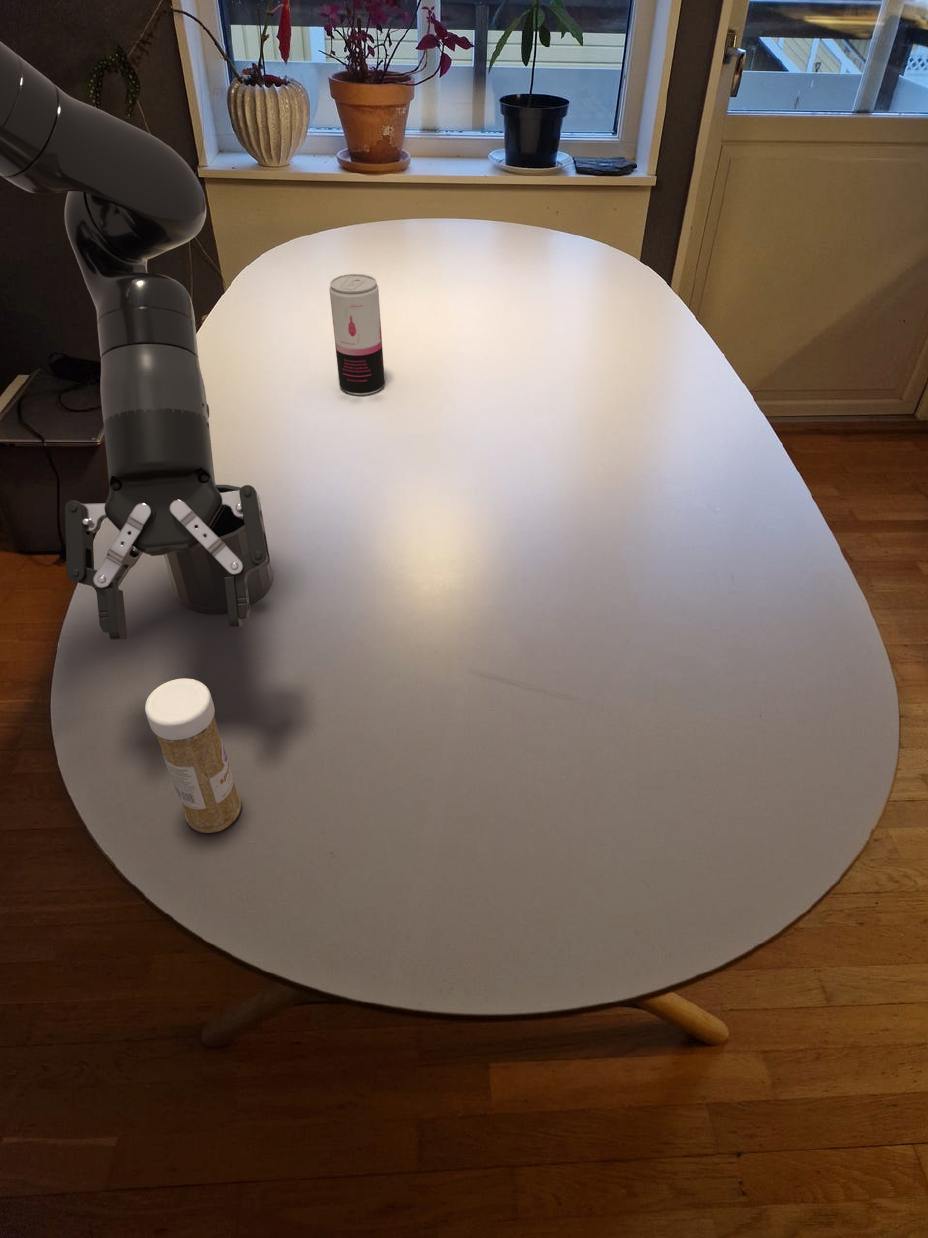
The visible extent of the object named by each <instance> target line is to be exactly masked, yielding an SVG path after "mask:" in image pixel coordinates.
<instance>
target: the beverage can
mask: <svg viewBox="0 0 928 1238" xmlns="http://www.w3.org/2000/svg"><path fill="white" fill-rule="evenodd" d="M329 298H330V299H329V300H330V308H331V318H332V328H333V337H334V338H333V339H334V346H335V357H336V366H337V373H338V374H337V375H338V384H339V387H340V389H342V390H343V391H344V392H346V393H347V394H350V395H354V396H367V395H372V394H375V393H377V392H378V391H380V390H381V389H382V388H383V387H384V385H385V382H386V381H385V366H384V365H385V364H384V350H383V349H384V348H383V336H382V324H381V323H382V322H381V308H380V292H379V285H378V283H377V279H376V278H375V277H373V276H371V275H368V274H363V273H347V274H342V275H339V276H336V277H334V278H332V279H331V280H330V282H329Z"/></svg>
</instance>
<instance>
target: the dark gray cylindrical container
mask: <svg viewBox="0 0 928 1238" xmlns="http://www.w3.org/2000/svg"><path fill="white" fill-rule="evenodd" d="M216 487H217V489H218V491H219V492H220V493H223V492H229V491H236V490H240V489H241V488H242V486H236V485H232V484H216ZM212 531H213V532H214V533H215V534H216V535H217V536H218V537H219V538H220V539H221V540H222V541H223V542H224V543H225V544H226V545H227V546H228V547H229V549H230V550H231V551H232V552H233V553H234V554H235V555H236V556H237V557H239V556H242V555H244V554H246V553H248V552H249V548H248V542H247V536H246V530H245V524H244V519H239V518H237V517H236V516H235V515H234V513H233V511H232V509H231V508H229V507H224V509H223V511H222V513H221V515H220V516H219V518H218V520H217V521H216V523H215V525H214V526H213V528H212ZM163 557H164V561H165V564H166V567H167V568H166V569H167V571H168V575H169V578H170V581H171V585H172V589H173V591H174V593H175V597H176V598H177V600H178V601H179V602H180V603H181V604H182V606H184V607H186V608H187V609H189V610H192V611H194V612H198V613H203V614H209V615H211V614H212V615H213V614H225V613H226V614H228V608H227V598H226V589H225V579H224V577H228V576H227V570H226V569H225V568H224V567H223V566H222V565H221V563H220V562H219V561H218V560H217V559H216V558H215V557H214V556H213V555H212V554H211V553H210V552H209V551H208V550H207V549H206V548H205V547H204V546H203V545H201V546H200V547H199V548H197V549H196V550H194V552H189V553H181V552H174V551H172V552H169V553H167V554H164V555H163ZM273 578H274V576H273V568H272V563H271V561H270V562H269V564H268V565H267V566H266V567H261V568H259V569H256V570H254V571H252V572H251V573H250V574H249V575H248V577H247V587H248V597H249V606H251V605H253V604H254V603H256V602H258V601H259V600H260V599H261V598H263V597H264V596H265V595H266V593H267V592H268V591H269V590H270V588H271V586H272V583H273Z"/></svg>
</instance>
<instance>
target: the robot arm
mask: <svg viewBox="0 0 928 1238" xmlns="http://www.w3.org/2000/svg"><path fill="white" fill-rule="evenodd" d="M0 176H1V177H2V178H3V179H5V180H7V181H8V182H10V183H11V184H13V185H14V186H16V187H17V188H20V189H22V190H23V191H26V192H28V193H31V194H34V195H41V196H43V195H44V196H45V195H55V194H60V193H67V195H66V198H65V204H64V205H65V206H64V225H65V230H66V234H67V237H68V240H69V241H70V242H69V243H70V246H71V248H72V250H73V253H74V255H75V258H76V261H77V264H78V266H79V268H80V271H81V274H82V278H83V279H84V283H85V285H86V288H87V290H88V292H89V294H90V297H91V299H92V302H93V305H94V307H95V311H96V324H97V325H96V326H97V333H98V334H97V335H98V346H99V355H100V384H99V385H100V386H99V387H100V388H99V389H100V390H99V391H100V402H101V403H100V404H101V413H102V422H103V432H104V433H103V434H104V445H105V454H106V465H107V474H108V484H109V492H108V496H107V499H106V501H105V502H101V503H100V502H99V503H94V502H93V503H82V502H80V501H78V500H76V499H70V500H68V501H67V502H66V503H65V505H64V528H65V529H64V530H65V531H64V532H65V533H64V534H65V560H66V562H65V564H66V576H67V579H69V580H70V581H71V582H75V583H78V584H81V585H85V586H89V587H92V588H93V589H94V591H95V593H96V601H97V611H98V623H99V627H100V629H101V631H102V633H105V634H109V638H110V640H111V641H123V640H127V638H128V632H127V631H128V630H127V622H126V621H127V620H126V619H127V618H126V610H125V602H124V601H125V600H124V591H123V590H122V589H120V588H119V587H120V585H121V584H122V583H123V581H124V579H125V578H126V576H127V574H128V573H129V571H130V570H131V569H132V568H133V567H135V565H136V564H137V562H138V561H139V559H140V558H141V556H142V555H143V553H144V555H145V554H146V555H149V556H151V557H156V556H164V554H167V553H169V552H172V551H174V552H181V553H189V552H194V550H196V549H197V548H199V547H200V546H201V545H203V546H204V547H205V548H206V549H207V550H208V551H209V552H210V553H211V554H212V555H213V556H214V557H215V558H216V559H217V560H218V561H219V562H220V563H221V565H222V566H223V567H224V568H225V569H226V570H227V576H228V577H224V579H225V589H226V598H227V608H228V612H227V616H228V617H227V618H228V624H229V627H230V628H231V629H236V628H237V629H238V628H243V625H244V624H243V620H249V617H250V614H251V608H250V607H251V605H249V597H248V587H247V577H248V575H249V574H250V573H251V572H252V571H254V570H256V569H259V568H261V567H266V566H267V565H268V564H269V562H271V557H270V552H269V546H268V545H269V544H268V540H267V533H266V527H265V523H264V517H263V510H262V504H261V498H260V496H259V494H258V492H257V490H256V489H255V487H254V486H252V485H250V484H245V485H243V486H241V489H240V490H236V491H229V492H223V493H220V492H219V491H218V489H217V487H216V485H217V484H216V479H215V478H216V477H215V469H214V459H213V449H212V448H213V447H212V441H211V431H210V429H211V428H210V420H209V419H210V407H209V404H208V401H207V391H206V387H205V386H206V385H205V382H204V378H203V374H202V370H201V363H200V360H199V359H200V358H199V347H198V338H197V329H196V319H195V312H194V306H193V303H192V298H191V296H190V293H189V291H188V290H187V288H186V287H185V286H184V285H183V284H182V283H180V282H179V281H178V280H176V279H174V278H172V277H170V276H167V275H165V274H161V273H160V274H159V273H154V272H148V260H150V259H153V258H155V257H157V256H159V255H161V254H164V253H166V252H168V251H170V250H173V249H175V248H178V247H180V246H182V245H184V244H186V243H188V242H190V241H191V240H192V239H194V238H195V237H196V236H198V234H199V233H200V232H201V230H202V228H203V227H204V225H205V222H206V218H207V202H206V201H207V200H206V196H205V193H204V190H203V188H202V185H201V183H200V181H199V178H198V177H197V175H196V174H195V172H194V170H192V168H191V166H190V165H189V164H188V163H187V161H186V160H185V159H184V158H183V157H182V156H181V155H180V154H179V153H178V152H177V151H176V150H174V149H173V148H172V147H171V146H170V145H168V144H167V143H165V142H164V141H162V140H161V139H160V138H158V137H156V136H154V135H152V134H151V133H149V132H147V131H145V130H142V129H141V128H139V127H136V126H135V125H133V124H131V123H129V122H126V121H125V120H122V119H120V118H119V117H116V116H114V115H111V114H110V113H108V112H106V111H105V110H102V109H99V108H97V107H95V106H93V105H90V104H88V103H86V102H83V101H80V100H78V99H76V98H74V97H72V96H71V95H69V94H67V93H66V92H65V91H63V90H62V89H61V88H60V87H58V85H56V84H55V83H54V82H52V81H51V80H50V79H49V78H47V76H45V75H44V74H43V73H41V72H40V71H39V70H37V69H36V68H35V67H33V66H32V64H30V63H28V62H27V61H26V60H25V59H23V58H22V57H21V56H20V55H18V53H16V52H15V51H13V50H12V49H11V48H10V47H9V46H7V45H6V44H4V42H2V41H0ZM224 507H229V508H231V509H232V511H233V513H234V515H235V516H236V517H237V518H239V519H244V524H245V530H246V536H247V542H248V548H249V552H248V553H246V554H244V555H242V556H239V557H237V556H236V555H235V554H234V553H233V552H232V551H231V550H230V549H229V547H228V546H227V545H226V544H225V543H224V542H223V541H222V540H221V539H220V538H219V537H218V536H217V535H216V534H215V533H214V532H213V531H212V528H213V526H214V525H215V523H216V521H217V520H218V518H219V516H220V515H221V513H222V511H223V509H224ZM105 519H108V520H109V521H110V522H111V523H112V524H113V526H114V527H115V528H116V529H117V530H118V531H119V533H118V534H117V536H116V537H115V539H114V541H112V544H111V545H110V547H108V550H107V553H106V556H105V559H104V560H103V561H102V563H101V565H100V566H99V568H98V569H95V555H94V554H95V553H94V552H95V551H94V534H95V533H97V532H99V531H100V529H101V527H102V523H103V521H104V520H105Z"/></svg>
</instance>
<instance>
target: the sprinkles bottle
mask: <svg viewBox="0 0 928 1238" xmlns="http://www.w3.org/2000/svg"><path fill="white" fill-rule="evenodd" d="M144 711H145V716H146V718H147V721H148V724H149V727H150V729H151V731H152V732H153V733H154V734H155V736H156V738H157V741H158V743H159V746H160V750H161V755H162V757H163V760H164V762H165V765H166V768H167V771H168V774H169V775H170V779H171V782H172V784H173V787H174V790H175V792H176V794H177V797H178V799H179V801H180V802H181V805H182V808H183V811H184V818H185V821H186V822H187V824H188V825H189V827H191V829H193V830H195V831H197V832H199V833H204V834H210V833H217V832H222V831H223V830H224V829H226V828H228V827H229V826H231V825H232V823H234V822H235V821H236V820H237V818H238V817H239V816H240V813H241V811H242V810H241V808H242V799H241V796H240V794H239V793H238V791H237V788H236V785H235V782H234V775H233V772H232V769H231V768H232V767H231V766H230V763H229V759H228V756H227V753H226V749H225V746H224V742H223V740H222V738H221V735H220V732H219V728H218V725H217V722H216V719H215V711H216V710H215V704H214V701H213V697H212V695H211V692H210V689H209V688H208V687H207V686H206V685H205V684H204V682H201V681H199V680H197V679H193V678H176V679H172V680H169V681H167V682H164V683H162V684H160V685H159V686H157V687H156V688H155V689H154V690H153V691H152V692H151V693H150V694H149V696H148V697H147V699H146V701H145V706H144Z"/></svg>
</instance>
